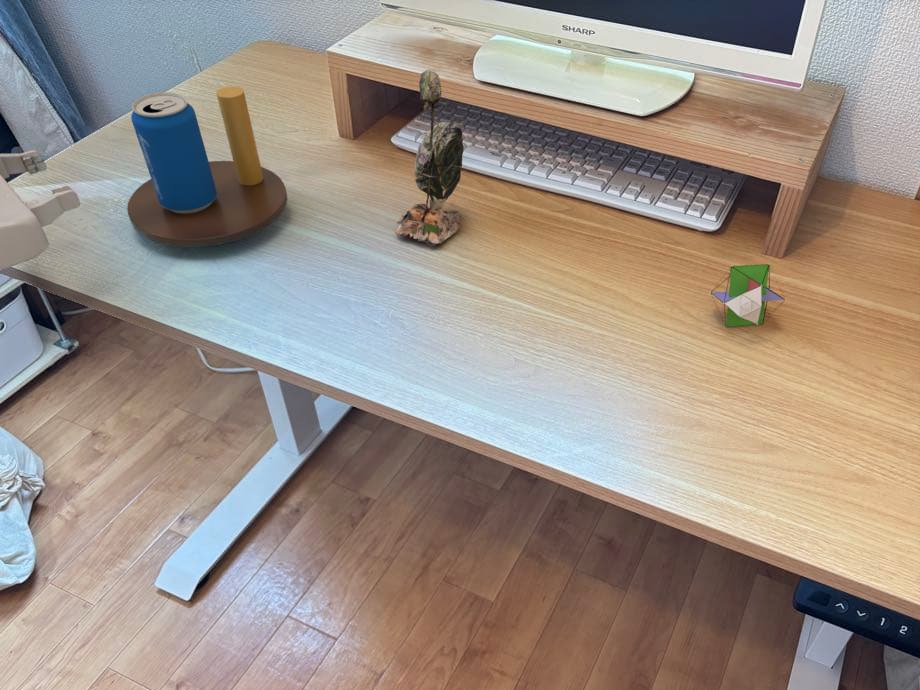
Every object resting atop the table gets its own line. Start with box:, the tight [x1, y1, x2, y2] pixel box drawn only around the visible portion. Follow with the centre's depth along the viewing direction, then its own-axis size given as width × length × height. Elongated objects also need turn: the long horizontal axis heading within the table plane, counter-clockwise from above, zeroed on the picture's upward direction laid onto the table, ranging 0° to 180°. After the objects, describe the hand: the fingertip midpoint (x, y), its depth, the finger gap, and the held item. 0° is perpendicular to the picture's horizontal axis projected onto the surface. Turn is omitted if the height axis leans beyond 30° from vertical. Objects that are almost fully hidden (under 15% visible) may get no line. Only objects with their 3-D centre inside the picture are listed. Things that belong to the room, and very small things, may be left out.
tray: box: [126, 85, 288, 248], centre depth 91 cm, size 18×18×12 cm
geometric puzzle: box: [709, 263, 787, 329], centre depth 84 cm, size 7×7×8 cm
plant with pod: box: [394, 69, 465, 247], centre depth 91 cm, size 8×11×20 cm
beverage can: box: [130, 91, 217, 214], centre depth 89 cm, size 6×6×12 cm
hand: (58, 176), depth 82 cm, fingers open, 8 cm apart
